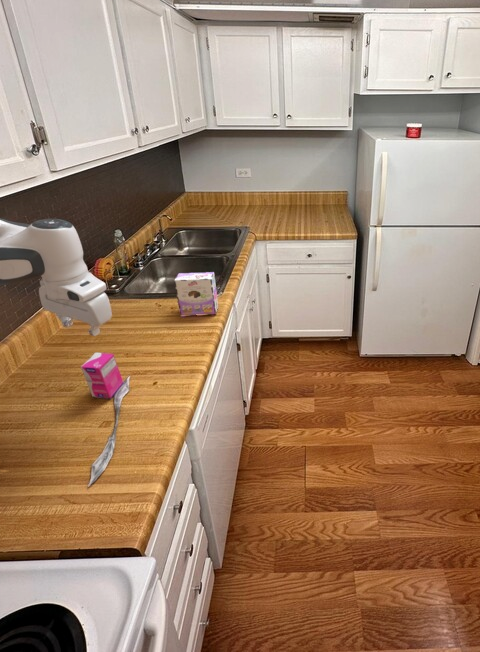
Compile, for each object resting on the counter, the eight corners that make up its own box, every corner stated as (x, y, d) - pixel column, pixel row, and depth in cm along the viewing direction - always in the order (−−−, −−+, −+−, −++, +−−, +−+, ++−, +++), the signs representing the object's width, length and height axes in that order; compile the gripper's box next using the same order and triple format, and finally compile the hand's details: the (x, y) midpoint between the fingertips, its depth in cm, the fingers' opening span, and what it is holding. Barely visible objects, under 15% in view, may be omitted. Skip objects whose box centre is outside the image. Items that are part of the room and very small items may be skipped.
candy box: (219, 307, 135) (214, 271, 129) (216, 315, 129) (211, 278, 123) (184, 308, 133) (178, 272, 128) (179, 317, 128) (173, 280, 122)
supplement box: (91, 398, 93) (79, 366, 89) (107, 382, 98) (96, 351, 94) (110, 400, 92) (98, 368, 88) (124, 383, 97) (114, 352, 93)
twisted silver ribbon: (85, 489, 71) (111, 481, 73) (85, 487, 71) (111, 479, 73) (114, 379, 99) (133, 375, 101) (114, 377, 99) (132, 373, 101)
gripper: (25, 281, 81) (40, 328, 86) (86, 298, 75) (99, 347, 80) (52, 270, 87) (65, 314, 92) (111, 284, 80) (121, 331, 85)
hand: (81, 330), depth 86 cm, fingers open, 8 cm apart
